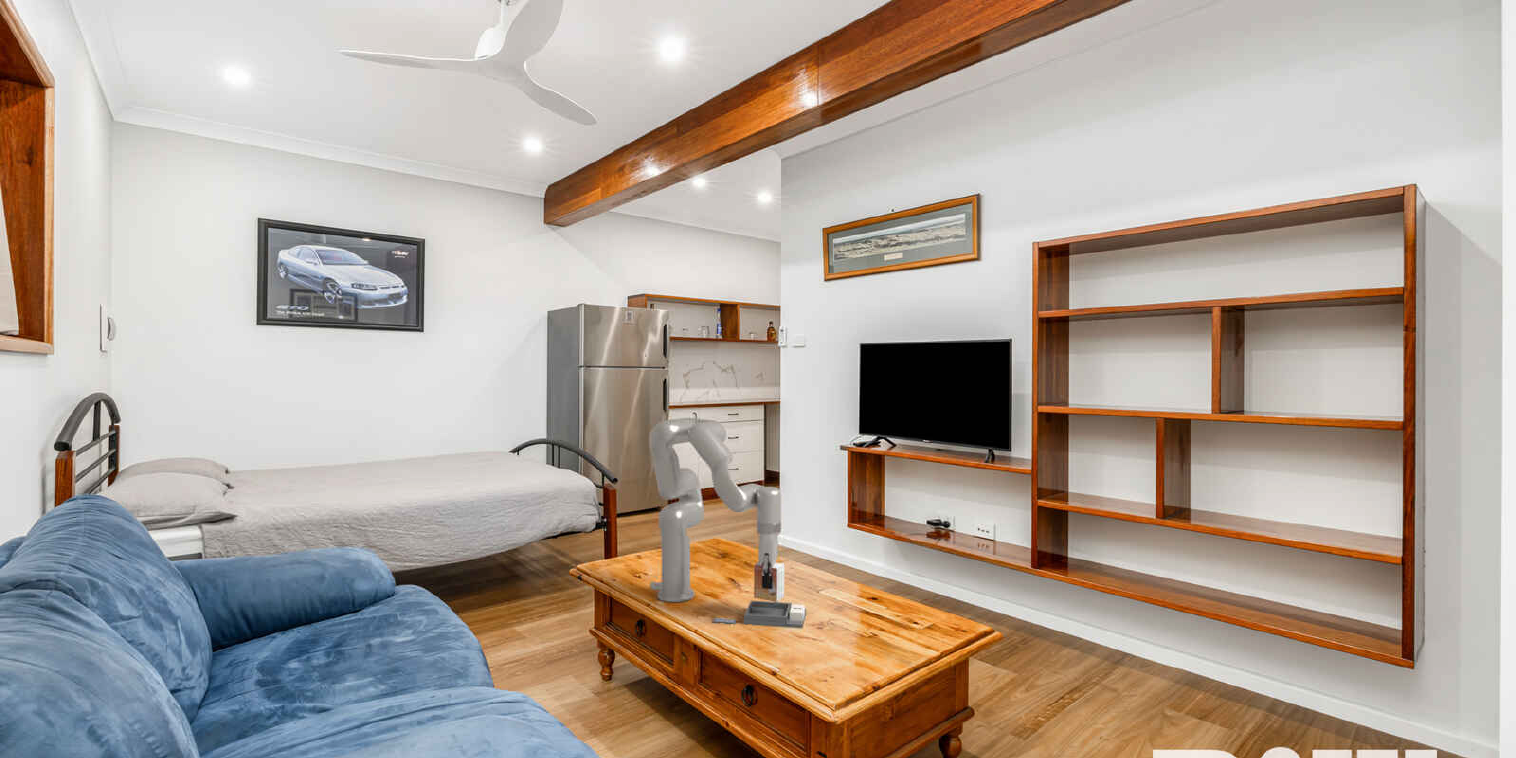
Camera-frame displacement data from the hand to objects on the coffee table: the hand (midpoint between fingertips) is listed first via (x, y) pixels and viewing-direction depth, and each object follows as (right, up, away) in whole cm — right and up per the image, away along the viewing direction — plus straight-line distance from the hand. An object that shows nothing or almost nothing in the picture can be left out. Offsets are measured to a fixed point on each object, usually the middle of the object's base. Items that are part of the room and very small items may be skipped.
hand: (769, 584), depth 210 cm
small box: (0, -4, 0) cm, 4 cm away
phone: (-14, -11, -3) cm, 18 cm away
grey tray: (+2, -11, 0) cm, 11 cm away
